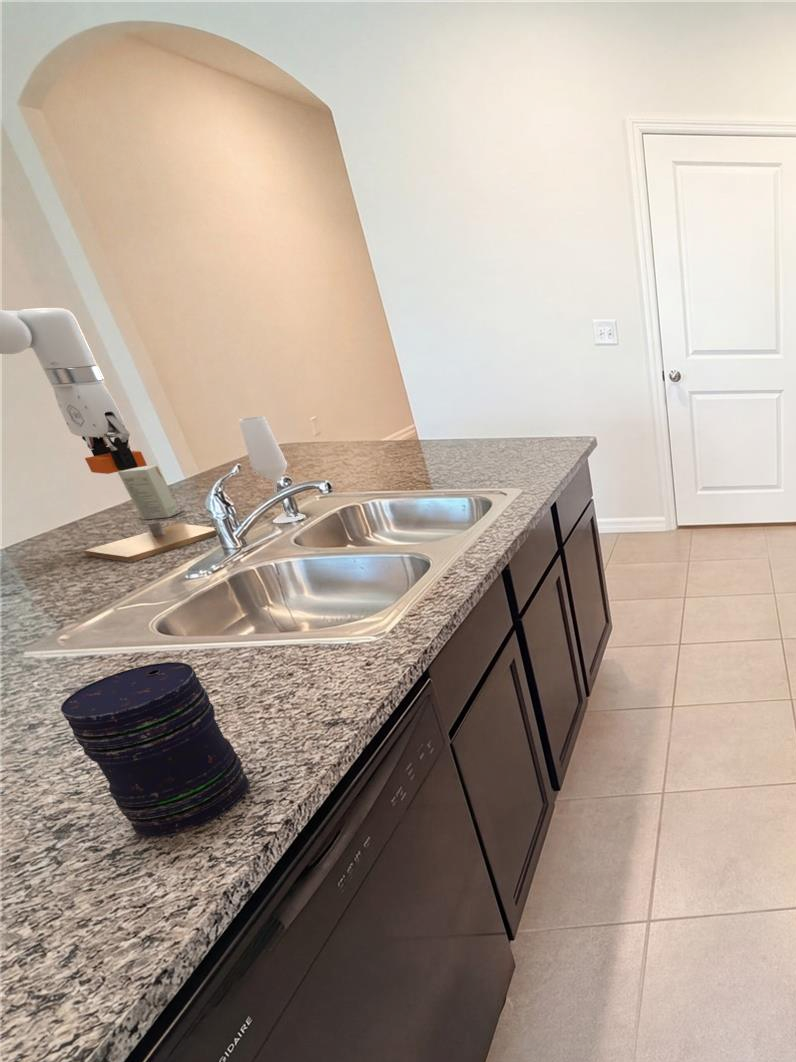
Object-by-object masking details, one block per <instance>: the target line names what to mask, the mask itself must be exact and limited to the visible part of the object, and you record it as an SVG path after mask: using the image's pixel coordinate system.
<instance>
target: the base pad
mask: <svg viewBox="0 0 796 1062" xmlns="http://www.w3.org/2000/svg"><path fill="white" fill-rule="evenodd" d="M147 527H148V528H149V530H150V531H147V532H144V533H139V534H137V535H133V536H129V537H125V538H122V539H119V540H115V541H112V542H109V543H105V544H102V545H99V546H95V547H91V548H88V549H84V550H83V552H84V555H86V557H93V558H98V559H99V558H100V559H104V560H105V559H107V560H113V561H119V562H127V563H133V562H136V561H140V560H142V559H143V560H144V559H146V558H149V557H153V556H156V555H159V554H162V553H165V552H168V551H171V550H174V549H178V548H180V547H181V548H182V547H184V546H187V545H190V544H194V543H197V542H199V541H200V542H201V541H203V540H206V539H209V538H212V537H215V536H218V535H217V533H216V531H215V529H214V528H215V527H211V526H204V525H197V524H186V523H180V522H179V523H174V524H172V525H168V526H164V527H163V526H162V524H161V522H160V521H159V520H154V521H149V522H147Z"/></svg>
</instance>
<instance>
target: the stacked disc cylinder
mask: <svg viewBox="0 0 796 1062" xmlns="http://www.w3.org/2000/svg"><path fill="white" fill-rule="evenodd" d="M60 712H61V714H62V715H63V717H64V719H65V720H66V721H68V725H69V727H70V728H71V730H72V735H73V737H74V738H75V740H76V741H77V743H78V745H79V746H81V747H82V748H83V753H84V755H85V756H86V757H88V758H89V760H91V761H92V762H95V763H96V764H97V765H98V767H99V769H100V770H101V771H102V774H103V775H104V777H105V779H106V780H107V782H108V783H109V785H108V791H109V793H110V794H111V797H112V800H114V801H115V805H116V806H117V807H118V810H119V812H121V814H122V815H123V816H125V817H126V819H127V820H128V821H129V822H130V823H131V827H132V829H133V830H134V832H135V834H137V835H138V836H142V837H144V838H165V837H170V836H171V837H172V836H176V835H179V834H182V833H186V832H189V831H192V830H194V829H197V828H199V827H201V826H204V825H206V824H209V823H210V822H212V821H215V820H216V819H218V818H219V817H221V816H223V815H224V814H226V813H228V812H229V811H230V810H232V809H233V808H235V806H236V805H237V804H239V803H240V801H242V799H243V798H244V797H245V796H246V795H247V793H248V791H249V789H250V781H249V779H248V776H247V775H246V774H245V771H244V769H243V766H242V761H241V760H240V757H239V756H238V753H236V751H235V750H234V746H233V745H232V742H231V741H230V740H229V739H228V738H225V736H224V734H223V733H222V731H221V728H220V727H219V724H218V722H217V720H216V717H215V716H216V713H215V707H214V704H213V703H212V702H211V701H210V697H209V695H208V693H207V691H206V689H205V687H204V686H202V682H200V680H199V679H198V677H197V673H196V671H195V669H194V667H193V666H192V665H191V664H188V663H185V662H179V661H178V662H177V661H176V662H175V661H167V662H159V663H151V664H147V665H141V666H137V667H133V668H129V669H125V670H123V671H120V672H116V673H113V674H111V675H108V676H106V677H103V678H101V679H98V680H95V681H93V682H91V683H89V684H87V685H85V686H83V687H81V688H80V689H78V690H76V691H75V692H74V693H72V694H70V695H69V696H68V697H66V699H65V700H64V701H63V702H62V704H60Z"/></svg>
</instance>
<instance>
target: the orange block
mask: <svg viewBox="0 0 796 1062" xmlns="http://www.w3.org/2000/svg"><path fill="white" fill-rule="evenodd" d="M131 452H132V454H133V456H134V459H135V461H136V463H137V465H138V466H137V467H136V468H138V467H145V466H148V463H147V462H146V460H145V458H144V455H143V453H142V451H138V450H131ZM84 459H85V462H86V464H87V465H88V469H90V472H91V473H94V474H102V475H103V474H105V475H108V474H109V475H110V474H114V473H118V472H119V471H124V470H118V468H117V466H116V464H115V462H114V460H113V458H112V456H111V454H110V453H108V454H103V455H98V456H94V455H93V456H87V457H84ZM131 469H133V468H131ZM126 470H128V469H126Z"/></svg>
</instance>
